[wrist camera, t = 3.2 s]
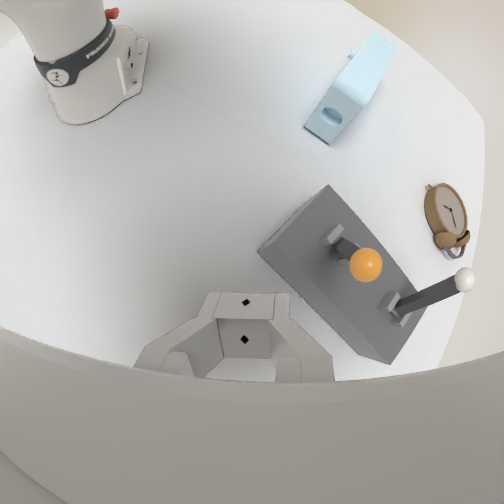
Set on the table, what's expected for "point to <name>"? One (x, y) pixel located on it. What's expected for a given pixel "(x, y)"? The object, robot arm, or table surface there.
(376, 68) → the light blue rounded box
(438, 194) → the alarm clock
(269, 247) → the switch box
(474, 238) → the table surface
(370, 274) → the orange lever
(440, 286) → the grey lever
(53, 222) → the table surface
